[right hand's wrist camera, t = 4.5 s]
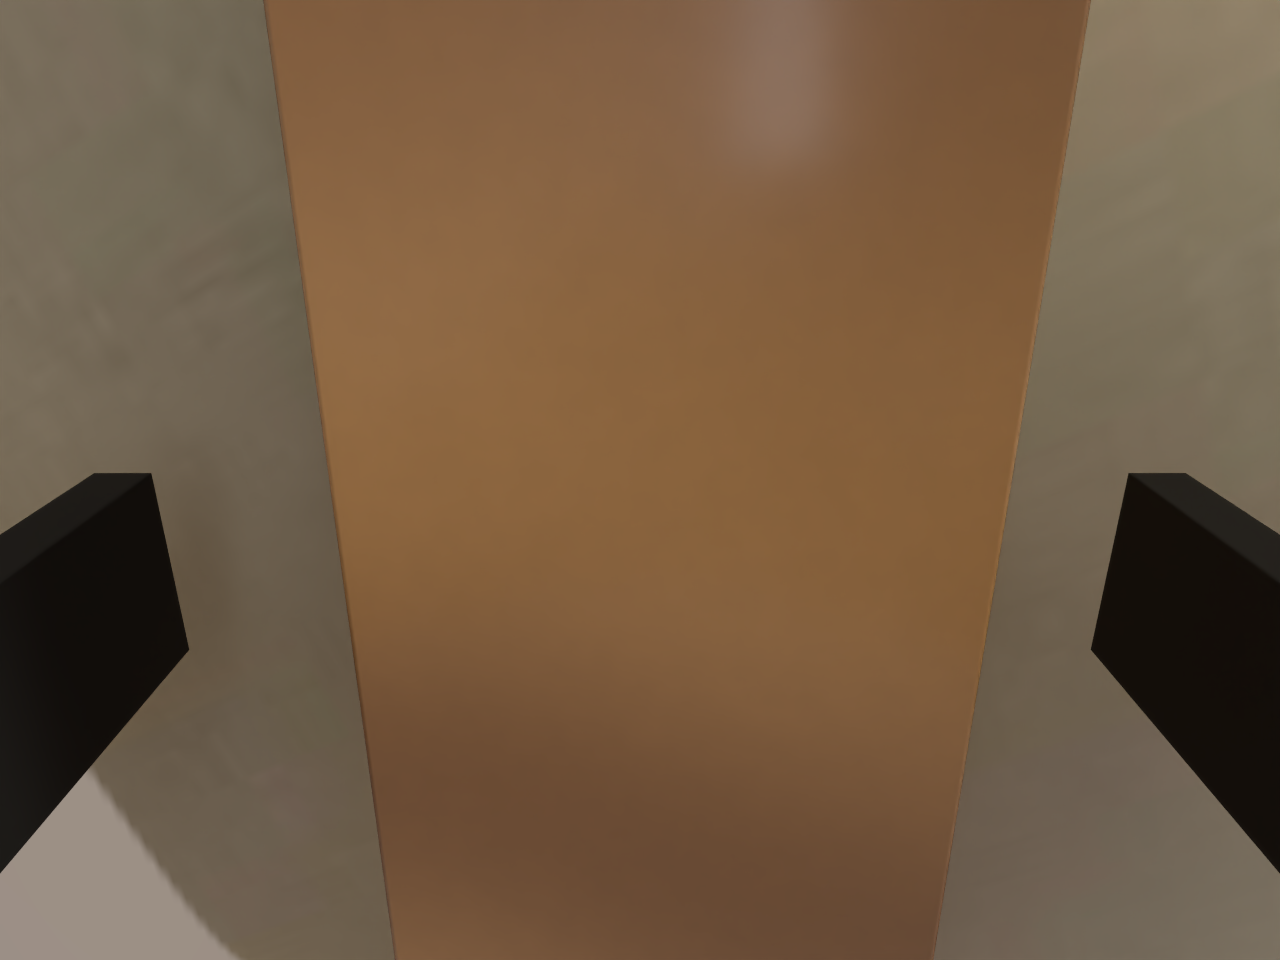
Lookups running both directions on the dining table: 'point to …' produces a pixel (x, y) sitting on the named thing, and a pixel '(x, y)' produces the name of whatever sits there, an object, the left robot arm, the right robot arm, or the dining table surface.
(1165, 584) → the right robot arm
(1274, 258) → the dining table surface
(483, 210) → the board
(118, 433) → the dining table surface
